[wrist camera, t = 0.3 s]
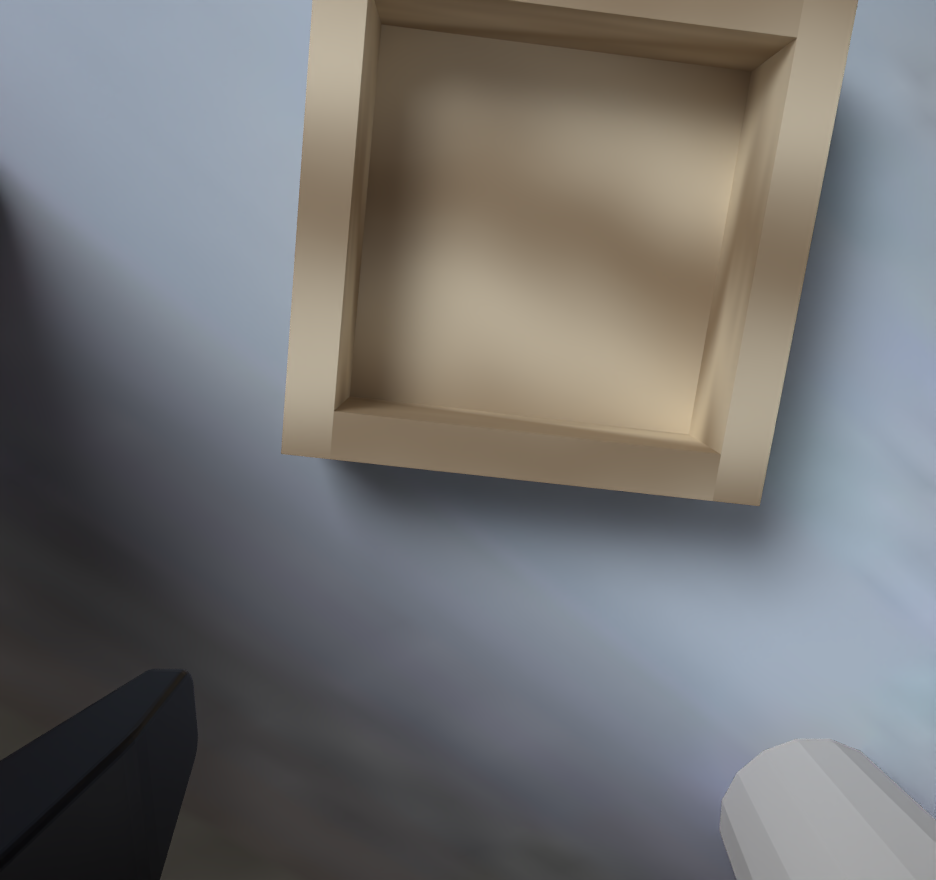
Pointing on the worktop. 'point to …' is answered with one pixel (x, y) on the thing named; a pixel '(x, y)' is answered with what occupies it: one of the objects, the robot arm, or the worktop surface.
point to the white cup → (823, 818)
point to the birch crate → (558, 235)
